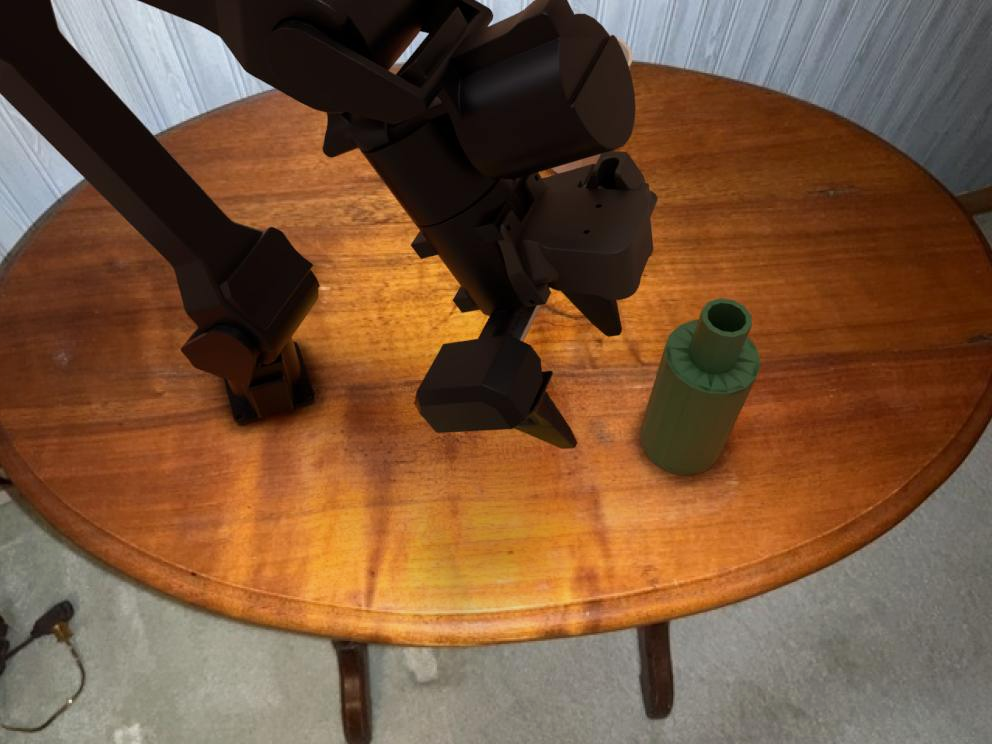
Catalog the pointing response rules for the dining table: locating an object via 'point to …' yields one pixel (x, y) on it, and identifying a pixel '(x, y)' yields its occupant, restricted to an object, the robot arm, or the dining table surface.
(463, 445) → the dining table surface
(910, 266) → the dining table surface
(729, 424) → the bottle
